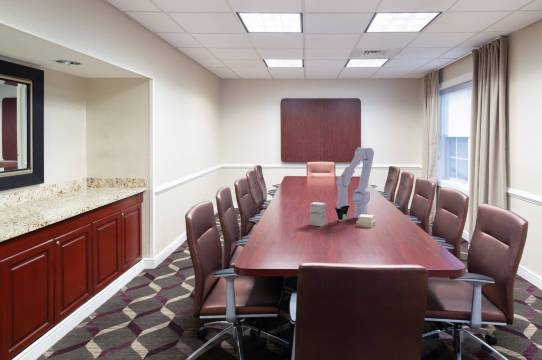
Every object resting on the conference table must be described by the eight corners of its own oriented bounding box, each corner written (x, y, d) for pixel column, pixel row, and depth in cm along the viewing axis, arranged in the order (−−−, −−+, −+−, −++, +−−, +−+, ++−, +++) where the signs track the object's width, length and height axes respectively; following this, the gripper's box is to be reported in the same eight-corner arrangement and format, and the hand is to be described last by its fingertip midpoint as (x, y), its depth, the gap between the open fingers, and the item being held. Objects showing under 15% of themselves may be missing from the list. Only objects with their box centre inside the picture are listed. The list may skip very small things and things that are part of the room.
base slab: (360, 223, 231) (360, 218, 230) (375, 225, 226) (376, 220, 226) (356, 226, 223) (356, 221, 222) (371, 228, 218) (372, 223, 218)
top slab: (361, 219, 229) (361, 214, 229) (374, 220, 226) (374, 215, 226) (358, 221, 223) (358, 216, 222) (371, 222, 219) (371, 217, 219)
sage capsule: (339, 219, 240) (339, 213, 239) (346, 220, 237) (347, 214, 237) (337, 221, 236) (337, 214, 235) (344, 221, 234) (344, 215, 233)
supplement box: (309, 225, 225) (309, 203, 223) (314, 222, 231) (314, 201, 230) (321, 226, 221) (321, 204, 220) (326, 224, 228) (326, 202, 226)
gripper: (340, 194, 243) (339, 215, 245) (332, 197, 231) (331, 219, 232) (351, 195, 240) (350, 216, 241) (343, 198, 227) (343, 221, 229)
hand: (342, 218), depth 236 cm, fingers open, 7 cm apart
